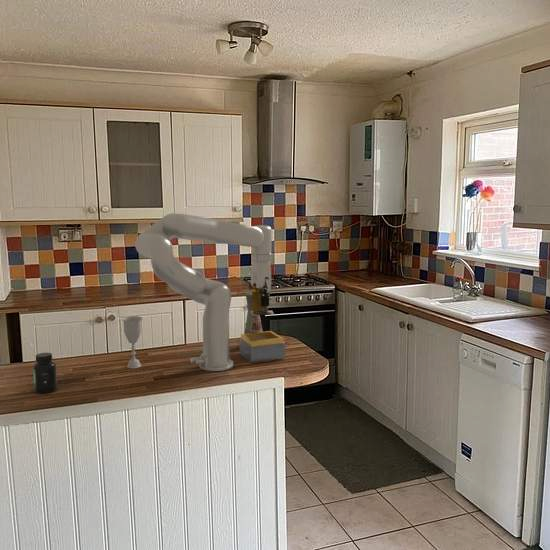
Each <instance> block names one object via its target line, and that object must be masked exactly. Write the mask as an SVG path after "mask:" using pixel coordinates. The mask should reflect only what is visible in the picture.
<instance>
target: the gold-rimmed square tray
mask: <svg viewBox="0 0 550 550" xmlns="http://www.w3.org/2000/svg"><path fill="white" fill-rule="evenodd" d="M238 340H239V342H238V343H239V345H238V347H239V352H238V353H240V355H241V357H243V358H244V357H245V358H244V359H245V360H246V361H248V362H249V363H250V362H251V363H250V364H253V363H252V362H255V363H260V362H259V361H262V362H268V360H270V361H277V360H276V359H278V360H284V359H286V349H287V348H286V343H285V341H284V337H282V336H281V335H279V334H277V333H275V332H273V331H272V330H267V331H263V332H256V333H247V334H244V333H240V338H239V339H238Z"/></svg>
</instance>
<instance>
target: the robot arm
mask: <svg viewBox="0 0 550 550" xmlns="http://www.w3.org/2000/svg"><path fill="white" fill-rule="evenodd" d="M272 230H273V229H272V227H271V226H269V225H255V226H253V225H247V224H241V223H235V222H231V221H230V222H229V221H225V220H221V219H217V218H216V219H215V218H210V217H206V216H205V217H203V216H197V215H192V214H187V213H174V212H173V213H172V212H171V213H168V214H166V215H164V216H163V217H161V218H159V220H157V221H156V222H154V223H153V224H152V225H150V226H149V227H147V228H146V229H145V230H143V231H142V232H140V234H138V236H137V238H136V239H135V244H134V246H135V250H136V252H137V253H138V254H139V255H141V256H142V257H146V258H150V265H151V268H152V270H153V273H154V275H155V277H157V278H158V280H161V281H163V282H164V283H166V284H168V286H169V287H170V288H171V290H173V291H174V292H176V293H178V294H179V295H182V296H183V297H186V298H188V300H189V299H190V300H192V301H194V302H196V303H198V304H201V305H203V306H204V305H205V308H204V311H203V314H202V348H203V349H202V350H203V351H202V352H203V353H202V352H201V354H200V355H199V356H198V357H190V359H189V360H190V364H196V365H199V368H200V369H201V370H204V371H207V372H208V371H209V372H221V371H227V370H230V369H232V368H233V367H234V364H235V361H233V360H232V359H231V358H230V307H231V301H232V292H231V289H230V288H229V286H227V284H225V283H223V282H222V281H218V280H213V279H208V278H206V277H205V276H204V275H203V274H202V272H200V271H199V270H197V269H195V268H192V267H190V266H188V265H186V264H184V263H183V262H181V261H179V260H178V259H177V258H175V256H174V248H173V244H172V241H171V240H173V239H180V240H187V241H195V242H203V243H210V244H217V245H219V244H220V245H234V246H240V247H249V248H251V271H250V273H251V274H250V275H251V276H250V281H251V285H252V286H253V283H256V288H258V289H261V293H262V296H261V306H262V307H263V306H268V307H270V292H271V290H272V267H271V263H272V259H273V258H272V240H273V239H272V238H273V237H272V236H273V235H272V233H273V232H272ZM264 286H266V288H263V287H264ZM264 290H265V291H264Z"/></svg>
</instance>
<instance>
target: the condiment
mask: <svg viewBox="0 0 550 550" xmlns="http://www.w3.org/2000/svg"><path fill="white" fill-rule="evenodd" d="M263 288H266V286H264V287H263ZM264 291H265V290H264ZM261 296H262V293H261V289H258V288H256V283H253V290H252V311H251V313H252V315H260V316H264V315H267V316H268V315H270V316H271V315H275V313H274V312H273V310H269V306H263V307H262V306H261Z"/></svg>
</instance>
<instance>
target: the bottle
mask: <svg viewBox="0 0 550 550" xmlns="http://www.w3.org/2000/svg"><path fill="white" fill-rule="evenodd" d="M247 283H248V289H247V291H245V294H244V295H245V300H246V306H247V312H246V318H245V320H246V321H245V323H244V326H245V327H244V333H243V334H247V333H256V332H264V331H263V326H262V320H261V317H260V316H261V315H252V313H251V311H252V290H253V286H252V285H251V280H249V281H248V282H247Z"/></svg>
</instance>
